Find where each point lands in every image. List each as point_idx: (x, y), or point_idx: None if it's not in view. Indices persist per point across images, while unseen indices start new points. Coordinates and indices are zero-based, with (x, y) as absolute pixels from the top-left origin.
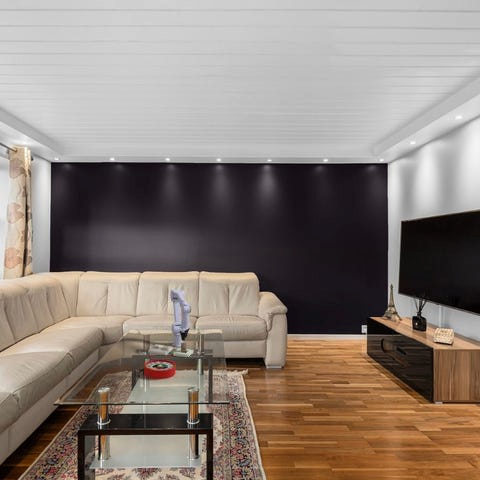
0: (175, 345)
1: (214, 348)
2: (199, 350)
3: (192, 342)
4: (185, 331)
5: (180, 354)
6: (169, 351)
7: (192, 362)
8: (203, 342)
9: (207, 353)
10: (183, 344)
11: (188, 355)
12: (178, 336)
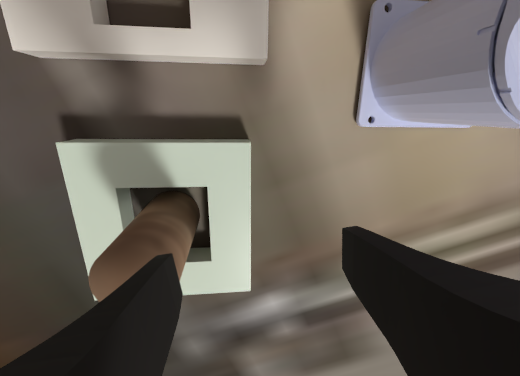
0: (372, 59)
1: (388, 360)
2: (316, 296)
3: (509, 184)
4: (438, 357)
5: (80, 224)
6: (156, 60)
7: (22, 340)
8: (514, 261)
9: (270, 357)
10: (94, 290)
11: None
12: (470, 75)
